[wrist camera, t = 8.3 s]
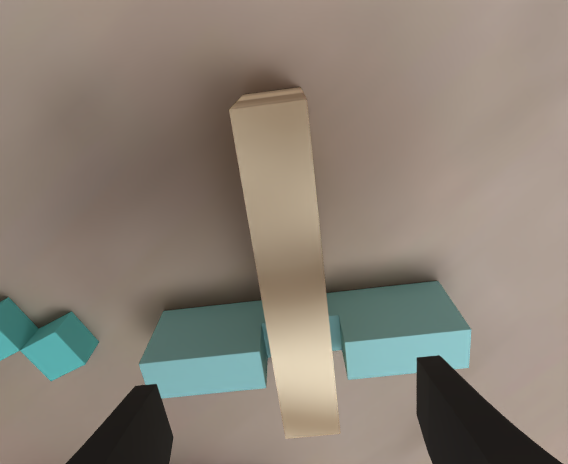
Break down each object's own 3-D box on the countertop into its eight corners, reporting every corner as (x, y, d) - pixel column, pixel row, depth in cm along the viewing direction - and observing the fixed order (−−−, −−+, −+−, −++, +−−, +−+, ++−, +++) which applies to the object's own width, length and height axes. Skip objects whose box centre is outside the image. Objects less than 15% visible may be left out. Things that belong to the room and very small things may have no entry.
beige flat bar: (328, 356, 23) (340, 433, 18) (285, 361, 23) (285, 439, 18) (300, 87, 17) (307, 99, 13) (243, 94, 17) (229, 109, 13)
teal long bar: (437, 314, 22) (468, 367, 18) (172, 342, 22) (150, 399, 19) (437, 280, 21) (471, 329, 17) (163, 310, 22) (138, 364, 18)
